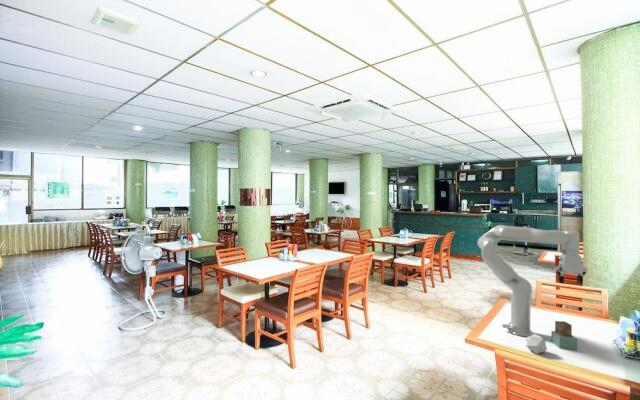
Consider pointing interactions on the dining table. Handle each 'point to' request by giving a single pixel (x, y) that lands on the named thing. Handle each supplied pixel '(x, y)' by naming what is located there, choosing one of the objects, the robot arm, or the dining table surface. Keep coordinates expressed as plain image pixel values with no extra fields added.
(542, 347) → the die
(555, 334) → the base block
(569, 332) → the walnut block
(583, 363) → the dining table surface
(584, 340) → the dining table surface
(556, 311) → the dining table surface
